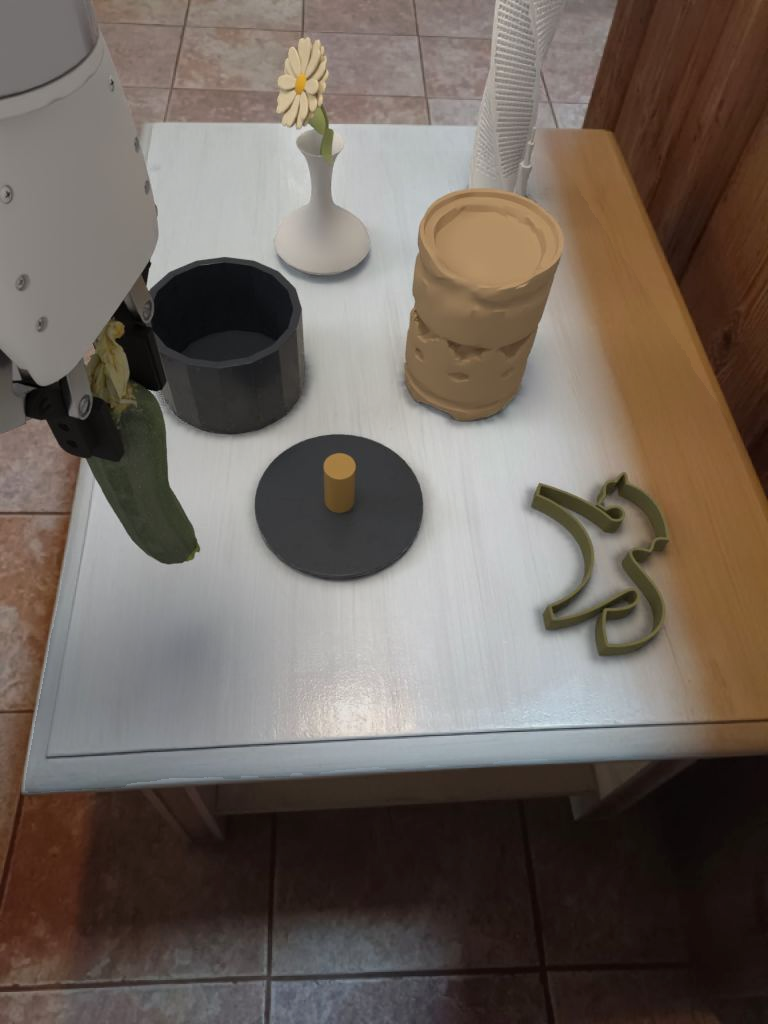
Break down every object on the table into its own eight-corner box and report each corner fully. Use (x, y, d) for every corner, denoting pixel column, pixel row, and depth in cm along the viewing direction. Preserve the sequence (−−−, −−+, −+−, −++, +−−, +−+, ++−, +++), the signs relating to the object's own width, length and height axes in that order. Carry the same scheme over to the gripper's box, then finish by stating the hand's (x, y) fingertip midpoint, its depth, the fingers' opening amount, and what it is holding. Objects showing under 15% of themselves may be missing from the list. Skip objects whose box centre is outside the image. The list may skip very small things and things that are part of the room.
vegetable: (158, 597, 47) (61, 386, 30) (124, 551, 48) (13, 326, 31) (216, 559, 48) (155, 340, 32) (181, 516, 50) (105, 285, 33)
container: (511, 432, 74) (557, 294, 59) (391, 407, 75) (405, 265, 59) (526, 346, 80) (570, 202, 65) (415, 324, 81) (433, 177, 66)
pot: (317, 419, 73) (315, 352, 65) (171, 445, 71) (150, 379, 63) (289, 320, 81) (283, 248, 73) (155, 340, 78) (134, 268, 70)
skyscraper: (452, 218, 92) (492, -42, 68) (463, 181, 96) (504, -75, 72) (518, 231, 91) (581, -27, 67) (525, 193, 95) (588, -62, 72)
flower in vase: (276, 221, 90) (257, -9, 68) (368, 223, 90) (378, -4, 69) (272, 293, 83) (249, 63, 62) (371, 295, 83) (383, 68, 62)
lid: (443, 560, 66) (453, 522, 60) (273, 598, 63) (266, 562, 57) (396, 428, 73) (401, 384, 68) (242, 456, 70) (234, 413, 65)
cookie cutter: (528, 478, 71) (533, 466, 69) (649, 485, 71) (656, 473, 70) (543, 652, 61) (549, 643, 60) (682, 659, 62) (692, 651, 60)
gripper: (-6, -124, 25) (122, 289, 41) (-406, 130, 17) (-50, 533, 32) (195, -84, 25) (248, 320, 40) (-111, 201, 16) (107, 578, 31)
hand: (115, 412), depth 36 cm, fingers closed on vegetable, 4 cm apart
